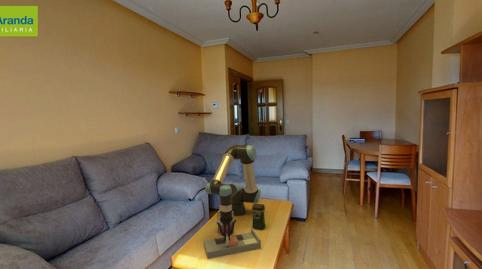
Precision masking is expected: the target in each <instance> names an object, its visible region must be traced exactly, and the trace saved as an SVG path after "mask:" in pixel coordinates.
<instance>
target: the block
mask: <svg viewBox="0 0 482 269" xmlns="http://www.w3.org/2000/svg"><path fill="white" fill-rule="evenodd" d="M233 236H234V235H233ZM235 246H238V240H237V238H236V236H234V237H230V240H229V246H228V247H235Z"/></svg>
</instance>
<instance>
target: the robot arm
mask: <svg viewBox="0 0 482 269" xmlns="http://www.w3.org/2000/svg"><path fill="white" fill-rule="evenodd" d="M235 160H239V161H240V163H241V164H242V170H243V177H244V181H245V183H244V185H245V186H243V185H238V184H237V183H235V182H232V183H230V184H227V183H224V180H225V178H226V176H227V174H228V172H229V169H230V167H231V165H232V163H233V162H234V161H235ZM256 160H257V149H256V148H255V146H254V145H249V144H247V145H246V144H234V145H232V146H231V145H230V146H229V148H227V149H226V150H225V151H224V153H223V155H222V160H221V161H220V164H219V166H218V168H217V170H216V172H215V174H214V176H213V178H212V180H211V182H207V183H206V184H205V186H204V190H205V193H206V194H208V195H215V196H217V195H218V196H219V210H221V211H220V220H219V221H218V220H217V221H216V224H217V227H218V226H219V229H220V235H221V237H224V241H225V243H226V246H229V240H230V236H233V234H234V232H233V230H234V229H235V224H236V222H237V219H236V218H235V216H236V217H240V216H243V215H245V214H246V213H247V210H246V209H247V208H246V206H245V203H250V204H254V203H256V204H259V203H260V202H259V201H260V198H261V194H262V193H261V189H259V187H258V186H257V185H256V178H255V177H256V175H255V169H254V168H255V167H254V163H255V161H256ZM232 211H233V217H232ZM231 221H232V225H231V230H230V223H231ZM220 222H222V224H223V232H222V228H221V225H220V224H221V223H220ZM226 225H227V234H226Z"/></svg>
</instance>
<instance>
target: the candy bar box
mask: <svg viewBox="0 0 482 269" xmlns="http://www.w3.org/2000/svg"><path fill="white" fill-rule="evenodd" d="M220 211H221V210H220V209H219V210H218V211H217V212H216V214H217V221H219V220H220ZM232 217H233V218H234V215H233V211H232ZM220 223H221V224H220V225H221V228H222V232H223V224H222V222H220ZM231 225H232V221H231V223H230V230H231ZM234 232H235V231H234V230H233V233H234ZM217 233H220V229H219V226H218V225H217ZM220 234H221V233H220ZM226 234H227V225H226Z"/></svg>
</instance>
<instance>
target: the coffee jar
mask: <svg viewBox="0 0 482 269" xmlns="http://www.w3.org/2000/svg"><path fill="white" fill-rule="evenodd" d="M251 207H252V208H251V212H252V229H255V230H264V229H265V228H266V222H265V221H266V219H265V210H266V207H265V204H261V203H252V206H251Z"/></svg>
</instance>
